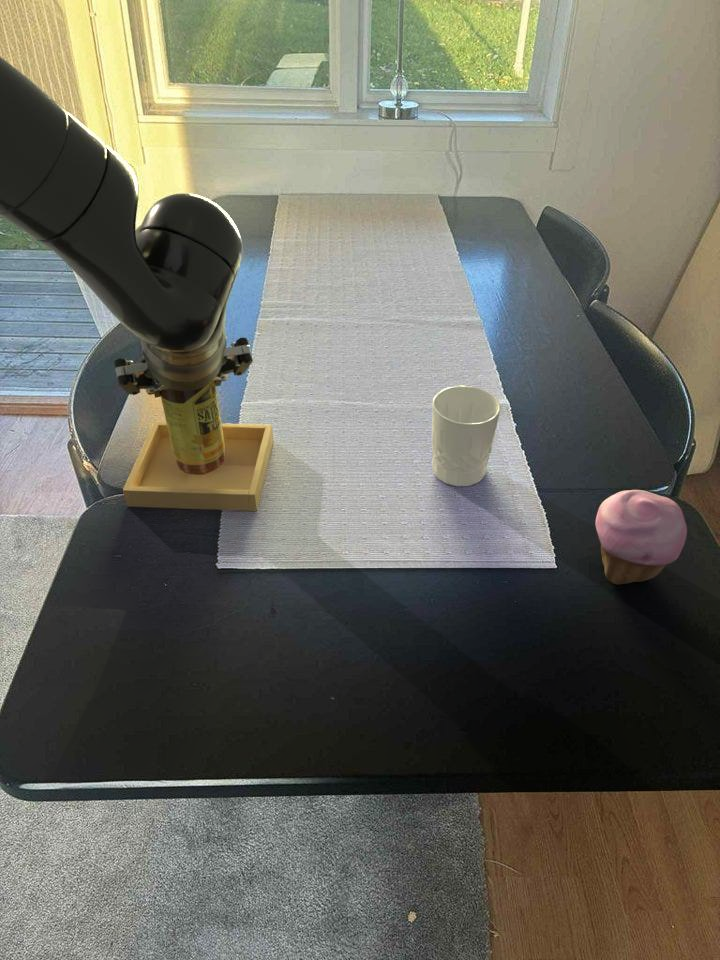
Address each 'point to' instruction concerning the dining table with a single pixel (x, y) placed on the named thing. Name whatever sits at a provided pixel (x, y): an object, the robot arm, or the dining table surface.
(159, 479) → the serving tray
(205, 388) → the sauce bottle
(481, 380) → the dining table surface
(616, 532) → the cupcake
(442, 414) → the white cup
